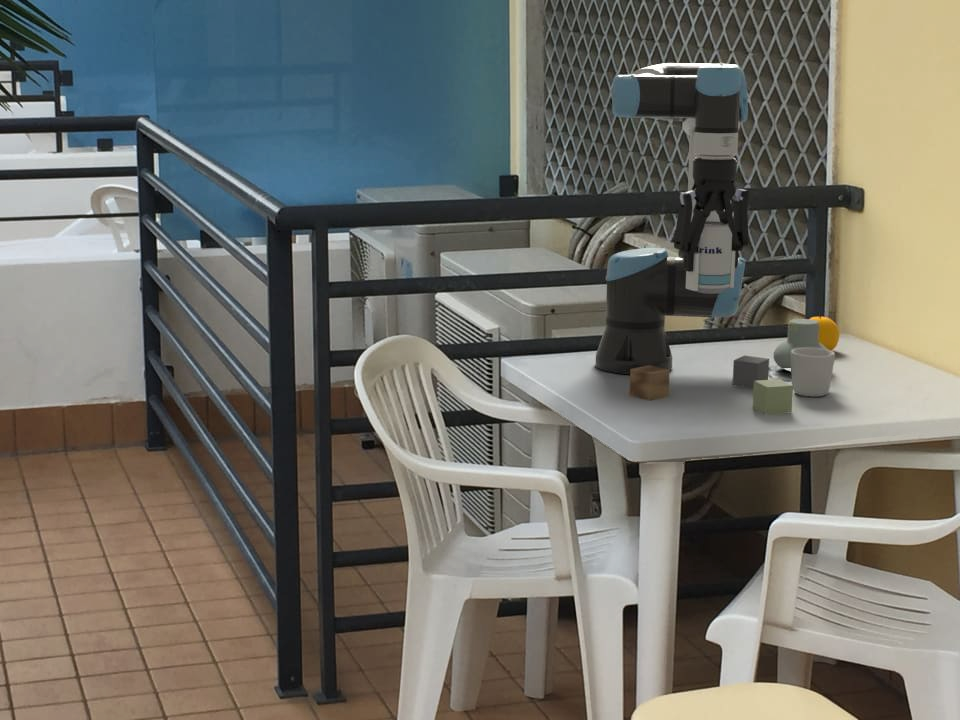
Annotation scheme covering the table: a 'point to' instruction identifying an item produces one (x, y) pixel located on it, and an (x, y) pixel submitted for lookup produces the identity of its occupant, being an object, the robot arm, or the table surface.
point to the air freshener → (797, 340)
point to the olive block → (772, 396)
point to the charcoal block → (749, 371)
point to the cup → (811, 371)
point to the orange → (827, 332)
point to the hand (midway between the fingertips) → (709, 287)
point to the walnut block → (649, 382)
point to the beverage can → (714, 257)
